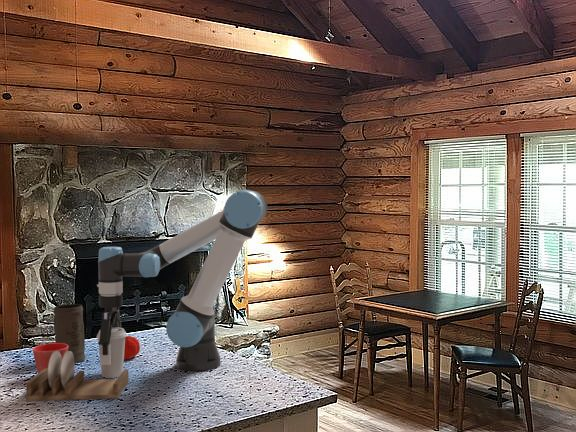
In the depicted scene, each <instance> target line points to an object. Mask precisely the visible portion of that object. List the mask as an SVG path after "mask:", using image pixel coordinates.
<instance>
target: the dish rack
mask: <svg viewBox="0 0 576 432" xmlns="http://www.w3.org/2000/svg"><path fill="white" fill-rule="evenodd" d="M75 364H76V363H75V361H74V356H73V353H72V352H71V351H66V352H65V354H64V356H63V359H62V356H61V354H60V352H59V351H54V352H53V353H52V355H51V357H50V360H49V365H48V368H44V369H43V370H42V371H40V372H39V373H38V372H37V374H35V375H34V376H33V377H32V378H31V379H29V380H28V381H27V382H26V384H25V385H26V387H25V388H26V402H27V401H29V402H30V401H33V402H34V401H36V402H37V401H63V400H65V401H66V400H67V401H68V400H69V401H70V400H71V401H72V399H75V400H103V399H104V400H108V399H107V398H110V399H111V398H113V399H119V397H120V396H121V394H123V391H124V390H125V389H126V387H127V386H128V384H129V382H130V381H129V377H130V376H129V369H123V372H122V374H121V375H120V376H119V377H117V378H107V379H85V370H79V371H78V372H77V373H75V369H76V367H75Z"/></svg>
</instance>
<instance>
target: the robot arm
mask: <svg viewBox="0 0 576 432" xmlns="http://www.w3.org/2000/svg"><path fill="white" fill-rule="evenodd" d="M225 201H226V202H225V204H224V207H223V209H222V210H221V211H219V212H217V213H216V214H214V215H212V216H210V217H208V218H207V219H204V220H202V221H200V222H198V223H197V224H195V225H194V226H191V227H190V228H189V227H188V228H187V229H186V230H184V231H182V232H180V233H178V234H177V235H175V236H173V237H171V238H169V239H168V240H165V241H164V242H162V243H160V244H158V245H156V246H154V247H151V248H150V249H148V250H147V251H143V252H139V253H125V252H123V248H122V247H121V246H104V247H101V248H99V249H98V261H97V263H98V264H97V265H98V270H97V271H98V284H97V283H96V286H97V288H98V294H99V296H98V306H99V308H102V309H104V312H101V322H100V330H101V331H100V340H99V342H97V345H98V346H99V345H101V360H100V366H101V365H110V364H111V355H110V344H109V343H110V336H111V330H112V328H114V327H117V328H122V320H121V314H120V308H121V307H122V306H123V301H124V300H123V299H124V298H123V295H122V294H123V293H124V292H123V290H124V289H123V286H124V284H123V283H124V282H123V277H134V278H137V277H139V278H142V277H143V278H150V277H151V278H153V277H154V278H155V277H157V276H158V275H159V272H160V270H162V269H163V268H165V267H166V266H168V265H170V264H172V263H174V262H175V261H178V260H179V259H181V258H183V257H185V256H187V255H189V254H191V253H193V252H194V251H196V250H198V249H200V248H202V247H203V246H205V245H208V244H210V243H211V242H213V244H212V246H211V248H210V251H209V252H208V254H207V257H206V258H205V260H204V262H203V265H202V266H201V268H200V271H199V273H198V274H197V277H196V279H195V281H194V283H193V285H192V287H191V289H190V291H189V293H188V294H187V295H186V296H182V297H181V299H180V301H179V303H178V305H177V307H176V309H175V311H174V313H172V315H171V316H169V318H168V320H167V322H166V327H165V328H166V329H165V330H166V331H165V332H166V334H167V337H168V338H169V340H170V341H171V343H173V344H174V345H175V346H178V347H179V350H178V352H177V357H176V358H175V359H176V360H175V365H176V366H175V367H176V369H177V368H178V369H179V370H183V371H190V372H196V371H197V372H198V371H200V372H201V371H206V370H207V371H208V370H212V369H216V368H218V367H219V366H220V365H221V356H220V353H219V351H218V347H217V344H216V329H215V328H216V327H215V326H216V324H215V323H216V321H215V320H216V318H215V317H216V316H215V313H216V312H215V311H216V310H215V309H216V306H215V303H216V301H217V298H218V296H219V294H220V292H221V290H222V288H223V286H224V284H225V282H226V281H227V278H228V276H229V273H230V272H231V270H232V268H233V266H234V264H235V262H236V260H237V258H238V256H239V253H240V251H241V250H242V248H243V246H244V243H245V241H248V240H251V239H252V238H253V236H254V234H255V232H256V230H257V228H258V226H259V224H260V223H261V222H262V221H263V220H264V219H265V217H266V215H267V212H268V203H267V200H266V198H265V197H264V195H262V194H261V193H259V191H256V190H249V189H241V190H237V191H235V192H234V193H232V194H231V195H230V196H229V197H227V199H226V200H225Z"/></svg>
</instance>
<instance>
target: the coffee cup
mask: <svg viewBox="0 0 576 432" xmlns="http://www.w3.org/2000/svg"><path fill="white" fill-rule="evenodd" d="M100 331H101V329H99V331H98V333H97V335H96V339H97V341H98V342H99V340H100ZM126 336H128V335H127V332H126V330H125V328H123V327H121V328H117V327H114V328H112V330H111V336H110V343H109V344H110V355H111V364H110V365H101V364H100V368H101V375H102V376H101V377H102V378H103V377H105V378H104V379H117V378H118V377H119V376H120V375H121V374H122V372H123V371H124V362H125V361H124V360H125V359H124V348H125V337H126ZM98 342H97V343H98ZM98 350H99V351H98V352H99V358H100V361H101V345H98ZM116 377H117V378H116Z"/></svg>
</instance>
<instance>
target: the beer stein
mask: <svg viewBox="0 0 576 432" xmlns="http://www.w3.org/2000/svg"><path fill="white" fill-rule="evenodd" d="M83 311H84V307H83V305H82V304H80V303H79V304H78V303H72V304H71V303H68V304H61V305H56V306H54V308H53V315H54V316H53V330H54V335H55V336H54V340H55V341H54V343H63V344H67V345H68V346H69V347H68V351H71V352H72V353H73V356H74V361H75V364H77V363H80V362H83V361H84V360H85V359H86V354H85V347H86V345H85V344H86V340H85V324H84V317H83V315H84V312H83Z"/></svg>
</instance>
